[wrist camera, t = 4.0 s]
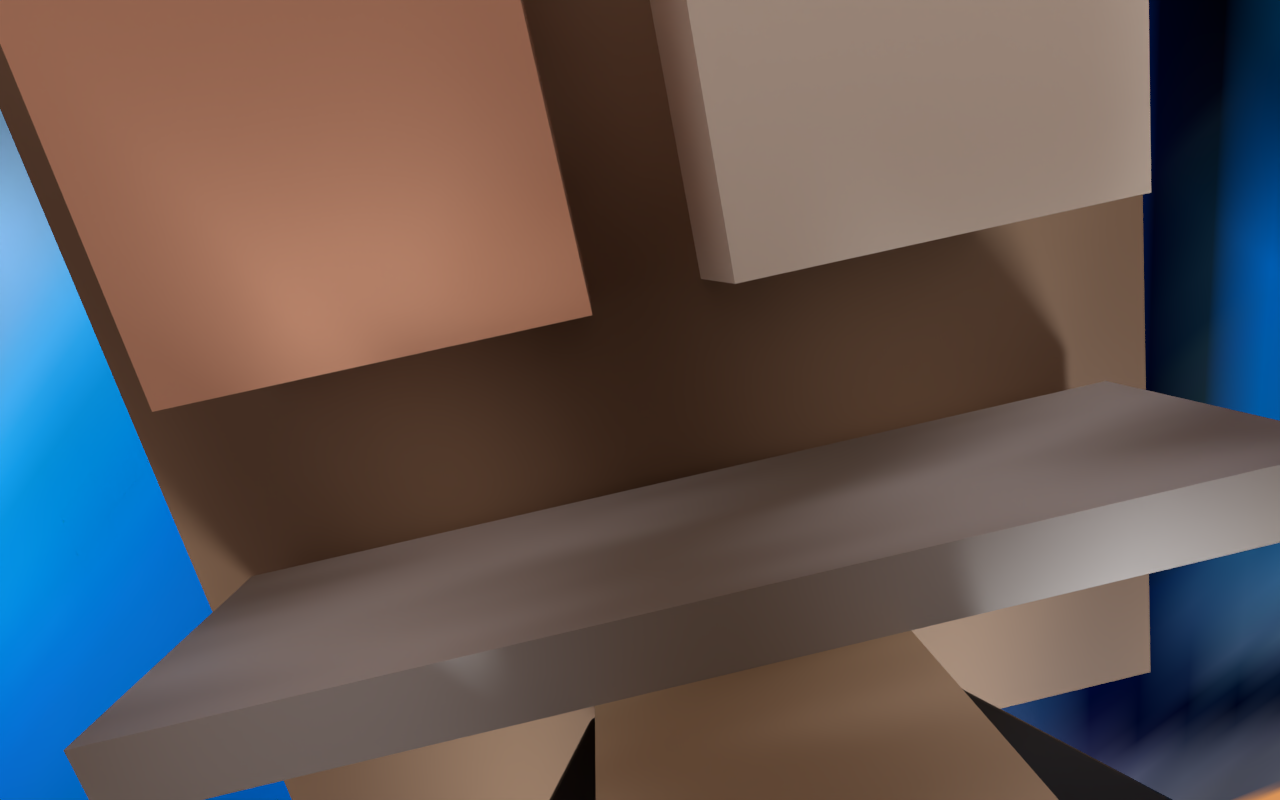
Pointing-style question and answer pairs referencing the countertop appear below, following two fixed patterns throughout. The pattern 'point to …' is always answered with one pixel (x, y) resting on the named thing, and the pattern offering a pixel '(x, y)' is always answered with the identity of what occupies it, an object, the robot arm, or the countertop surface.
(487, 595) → the scraper
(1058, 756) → the robot arm
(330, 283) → the tile terracotta
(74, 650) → the countertop surface
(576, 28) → the brown square tray
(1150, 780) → the countertop surface
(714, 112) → the tile cream
